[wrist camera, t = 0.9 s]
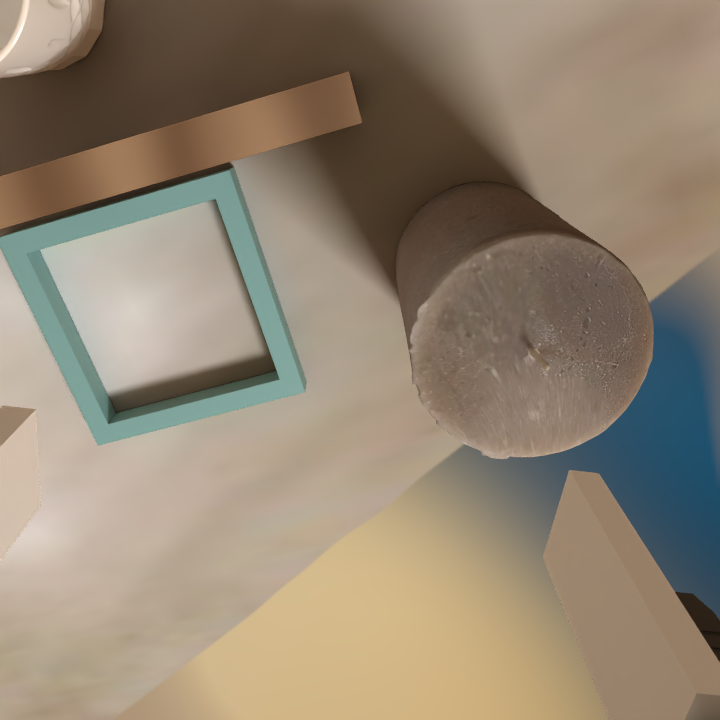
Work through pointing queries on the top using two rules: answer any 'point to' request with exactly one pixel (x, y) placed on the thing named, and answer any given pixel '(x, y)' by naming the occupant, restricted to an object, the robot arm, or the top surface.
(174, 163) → the brown wooden board
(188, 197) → the keeper frame
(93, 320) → the top surface
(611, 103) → the top surface
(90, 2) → the white cup
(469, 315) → the pillar candle
